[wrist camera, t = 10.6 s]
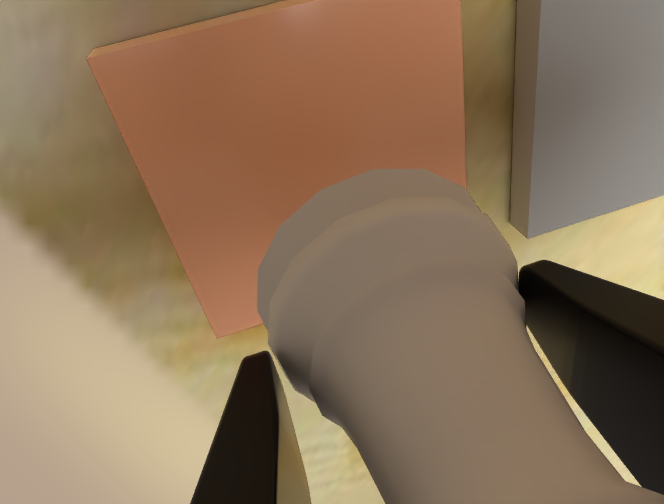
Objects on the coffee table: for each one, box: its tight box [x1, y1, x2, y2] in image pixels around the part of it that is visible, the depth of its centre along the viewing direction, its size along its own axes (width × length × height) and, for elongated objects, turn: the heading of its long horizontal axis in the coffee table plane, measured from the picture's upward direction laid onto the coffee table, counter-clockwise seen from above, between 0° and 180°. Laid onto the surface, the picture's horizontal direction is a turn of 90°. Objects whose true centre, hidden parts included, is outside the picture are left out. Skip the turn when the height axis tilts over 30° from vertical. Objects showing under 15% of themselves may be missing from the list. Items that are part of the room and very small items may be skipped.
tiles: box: [86, 0, 664, 338], centre depth 13 cm, size 8×18×1 cm, turn 101°
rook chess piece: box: [257, 169, 664, 504], centre depth 6 cm, size 4×4×8 cm
